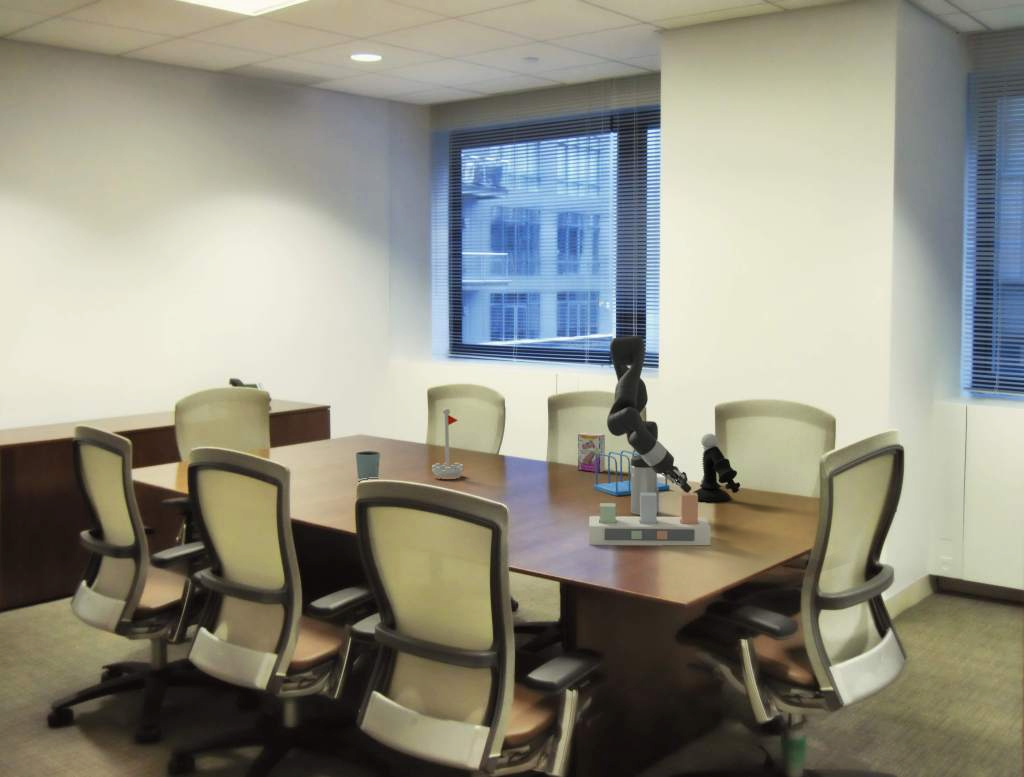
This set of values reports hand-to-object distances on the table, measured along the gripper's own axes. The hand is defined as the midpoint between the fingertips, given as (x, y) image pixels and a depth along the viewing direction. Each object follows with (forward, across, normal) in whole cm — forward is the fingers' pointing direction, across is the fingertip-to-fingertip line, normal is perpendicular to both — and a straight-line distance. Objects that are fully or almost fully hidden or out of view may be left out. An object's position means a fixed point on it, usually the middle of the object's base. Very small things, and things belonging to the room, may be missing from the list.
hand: (688, 490), depth 332 cm
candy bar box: (+34, +121, -11) cm, 126 cm away
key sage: (-5, +13, +26) cm, 30 cm away
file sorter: (+30, +78, -7) cm, 84 cm away
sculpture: (+42, +45, -19) cm, 64 cm away
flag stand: (-9, +138, +32) cm, 142 cm away
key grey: (0, +6, +16) cm, 17 cm away
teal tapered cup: (-32, +147, +55) cm, 160 cm away
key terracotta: (+8, 0, +8) cm, 11 cm away
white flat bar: (+4, +6, +19) cm, 21 cm away
